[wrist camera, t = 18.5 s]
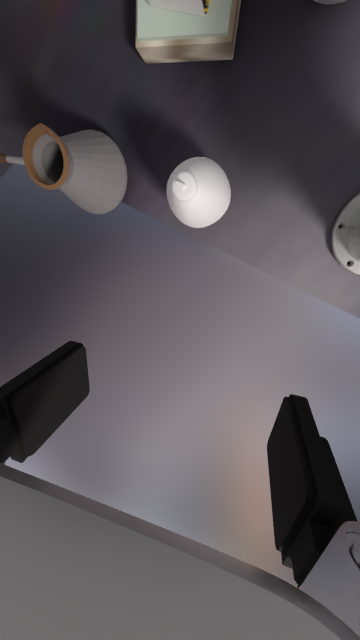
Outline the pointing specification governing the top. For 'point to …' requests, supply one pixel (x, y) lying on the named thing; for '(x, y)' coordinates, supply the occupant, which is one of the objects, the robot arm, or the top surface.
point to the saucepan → (329, 1)
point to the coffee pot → (75, 166)
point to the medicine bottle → (183, 6)
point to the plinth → (186, 33)
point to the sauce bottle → (198, 192)
